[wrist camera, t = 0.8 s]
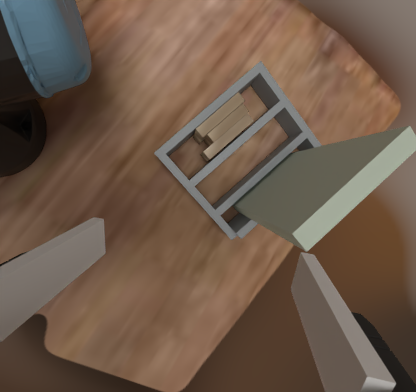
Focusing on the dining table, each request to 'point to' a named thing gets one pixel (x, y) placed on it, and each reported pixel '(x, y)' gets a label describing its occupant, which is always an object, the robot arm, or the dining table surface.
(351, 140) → the sage hardboard sheet
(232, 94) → the offcut rack
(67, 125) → the dining table surface
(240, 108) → the pine offcut stack
